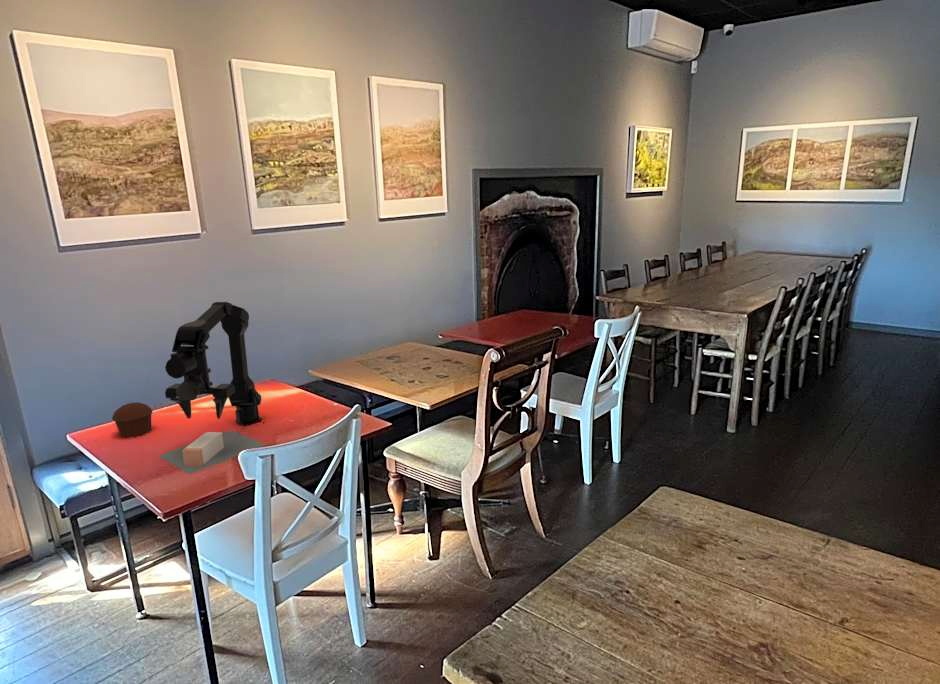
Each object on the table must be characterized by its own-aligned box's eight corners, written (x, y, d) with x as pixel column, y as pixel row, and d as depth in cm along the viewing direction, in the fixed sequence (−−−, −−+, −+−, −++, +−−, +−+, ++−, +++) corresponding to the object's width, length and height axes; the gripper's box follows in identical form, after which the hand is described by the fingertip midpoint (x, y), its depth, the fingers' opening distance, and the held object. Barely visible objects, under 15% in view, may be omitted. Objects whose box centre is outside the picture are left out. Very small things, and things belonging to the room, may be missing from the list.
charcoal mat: (232, 431, 192) (232, 430, 192) (266, 446, 180) (266, 444, 180) (157, 456, 174) (157, 455, 174) (189, 475, 162) (189, 474, 162)
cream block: (206, 432, 178) (182, 450, 165) (221, 432, 177) (198, 450, 165) (208, 447, 179) (184, 466, 166) (223, 447, 178) (201, 466, 166)
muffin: (149, 423, 201) (144, 396, 198) (160, 431, 193) (156, 403, 191) (110, 434, 192) (105, 405, 190) (121, 443, 185) (115, 413, 182)
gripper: (149, 376, 161) (158, 428, 165) (213, 376, 160) (220, 429, 164) (172, 364, 172) (180, 414, 176) (232, 364, 170) (239, 414, 174)
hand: (204, 418), depth 172 cm, fingers open, 9 cm apart
